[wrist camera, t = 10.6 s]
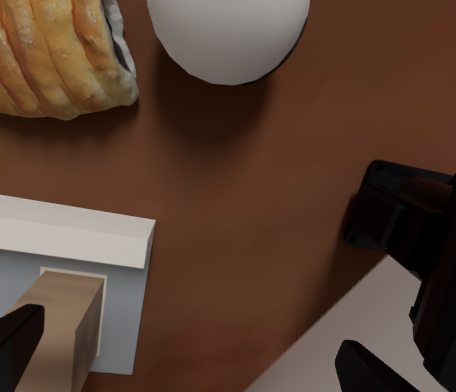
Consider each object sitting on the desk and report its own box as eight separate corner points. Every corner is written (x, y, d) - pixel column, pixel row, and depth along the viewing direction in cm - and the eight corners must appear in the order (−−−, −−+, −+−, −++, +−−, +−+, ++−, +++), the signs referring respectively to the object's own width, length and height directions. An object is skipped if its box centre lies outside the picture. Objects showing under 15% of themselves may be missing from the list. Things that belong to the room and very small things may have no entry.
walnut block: (96, 353, 23) (68, 419, 18) (43, 348, 22) (-1, 415, 18) (104, 278, 21) (75, 330, 16) (45, 270, 20) (-3, 322, 15)
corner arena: (155, 220, 20) (147, 239, 17) (132, 371, 24) (123, 407, 21) (-70, 183, 18) (-120, 199, 15) (-53, 355, 22) (-91, 392, 19)
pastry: (3, 137, 18) (-49, 146, 14) (-56, 15, 16) (-134, -11, 12) (150, 101, 18) (136, 100, 14) (112, -26, 16) (84, -64, 12)
